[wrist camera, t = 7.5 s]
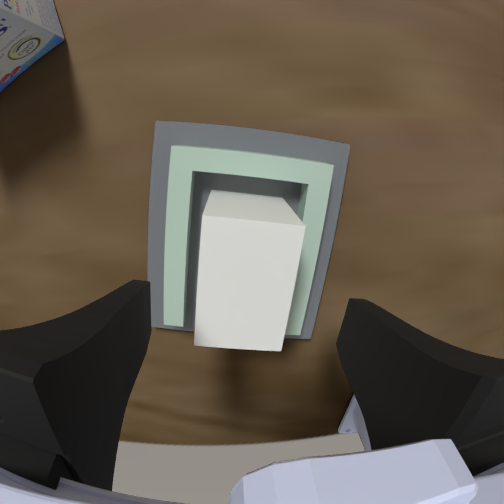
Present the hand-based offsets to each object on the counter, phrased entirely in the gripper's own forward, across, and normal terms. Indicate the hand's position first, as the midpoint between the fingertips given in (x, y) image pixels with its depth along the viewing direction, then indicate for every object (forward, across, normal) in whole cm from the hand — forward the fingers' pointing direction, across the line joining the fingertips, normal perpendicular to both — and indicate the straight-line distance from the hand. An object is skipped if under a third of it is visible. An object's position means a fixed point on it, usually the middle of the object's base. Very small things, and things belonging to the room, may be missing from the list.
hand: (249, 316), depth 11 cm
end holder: (+9, 0, 0) cm, 9 cm away
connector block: (+8, 0, 0) cm, 8 cm away
